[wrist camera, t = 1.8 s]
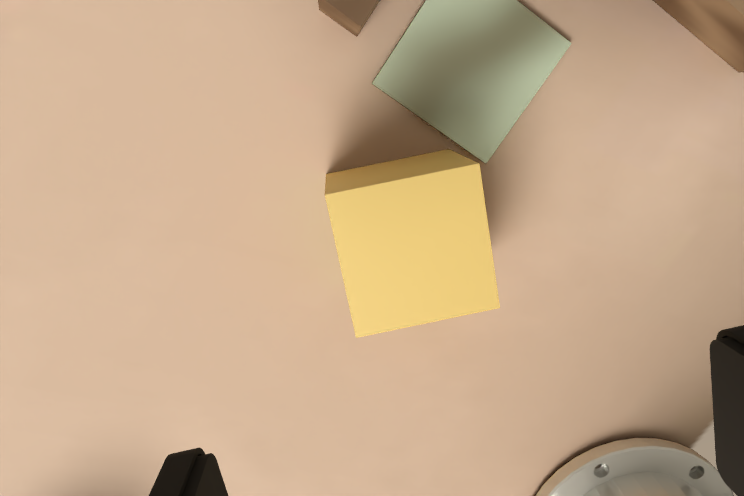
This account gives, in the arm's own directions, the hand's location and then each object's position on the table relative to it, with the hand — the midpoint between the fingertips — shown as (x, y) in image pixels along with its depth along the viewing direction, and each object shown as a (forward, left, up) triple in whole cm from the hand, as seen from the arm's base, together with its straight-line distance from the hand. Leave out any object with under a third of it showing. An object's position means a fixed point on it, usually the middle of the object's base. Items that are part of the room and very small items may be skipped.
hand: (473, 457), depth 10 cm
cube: (-1, 0, -19) cm, 19 cm away
